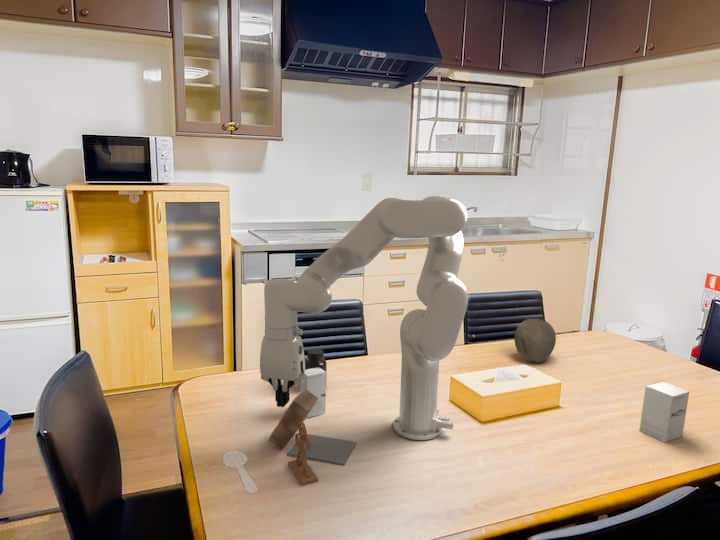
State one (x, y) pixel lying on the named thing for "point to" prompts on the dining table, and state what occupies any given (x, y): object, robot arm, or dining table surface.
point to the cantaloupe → (535, 339)
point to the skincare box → (315, 389)
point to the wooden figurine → (302, 459)
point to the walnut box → (292, 418)
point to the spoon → (240, 468)
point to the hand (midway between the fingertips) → (282, 404)
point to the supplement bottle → (315, 360)
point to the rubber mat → (326, 449)
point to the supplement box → (664, 411)
